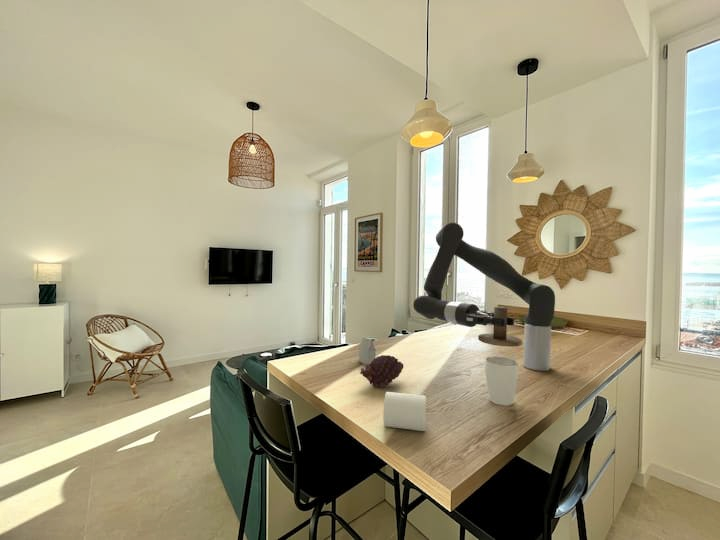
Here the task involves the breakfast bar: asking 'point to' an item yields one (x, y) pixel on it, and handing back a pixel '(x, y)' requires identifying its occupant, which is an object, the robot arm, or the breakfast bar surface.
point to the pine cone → (382, 370)
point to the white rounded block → (405, 411)
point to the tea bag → (366, 351)
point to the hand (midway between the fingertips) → (509, 322)
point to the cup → (501, 379)
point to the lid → (500, 332)
